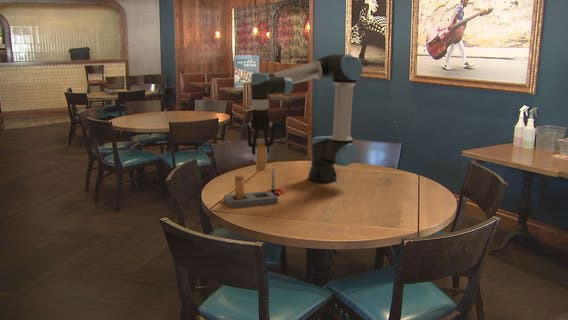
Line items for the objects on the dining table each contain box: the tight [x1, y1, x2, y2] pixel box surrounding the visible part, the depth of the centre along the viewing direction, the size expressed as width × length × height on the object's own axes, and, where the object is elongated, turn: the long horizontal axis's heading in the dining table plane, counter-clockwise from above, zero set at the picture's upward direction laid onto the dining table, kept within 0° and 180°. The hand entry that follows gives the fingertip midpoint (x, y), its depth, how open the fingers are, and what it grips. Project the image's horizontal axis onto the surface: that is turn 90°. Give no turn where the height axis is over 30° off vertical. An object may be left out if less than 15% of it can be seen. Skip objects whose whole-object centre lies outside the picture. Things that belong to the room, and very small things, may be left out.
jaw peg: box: [255, 142, 266, 172], centre depth 218 cm, size 4×4×12 cm
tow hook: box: [266, 167, 285, 197], centre depth 234 cm, size 8×13×9 cm
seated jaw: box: [234, 175, 245, 200], centre depth 218 cm, size 4×4×12 cm
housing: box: [223, 190, 279, 209], centre depth 220 cm, size 22×12×2 cm, turn 108°
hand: (260, 161), depth 218 cm, fingers closed on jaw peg, 4 cm apart
